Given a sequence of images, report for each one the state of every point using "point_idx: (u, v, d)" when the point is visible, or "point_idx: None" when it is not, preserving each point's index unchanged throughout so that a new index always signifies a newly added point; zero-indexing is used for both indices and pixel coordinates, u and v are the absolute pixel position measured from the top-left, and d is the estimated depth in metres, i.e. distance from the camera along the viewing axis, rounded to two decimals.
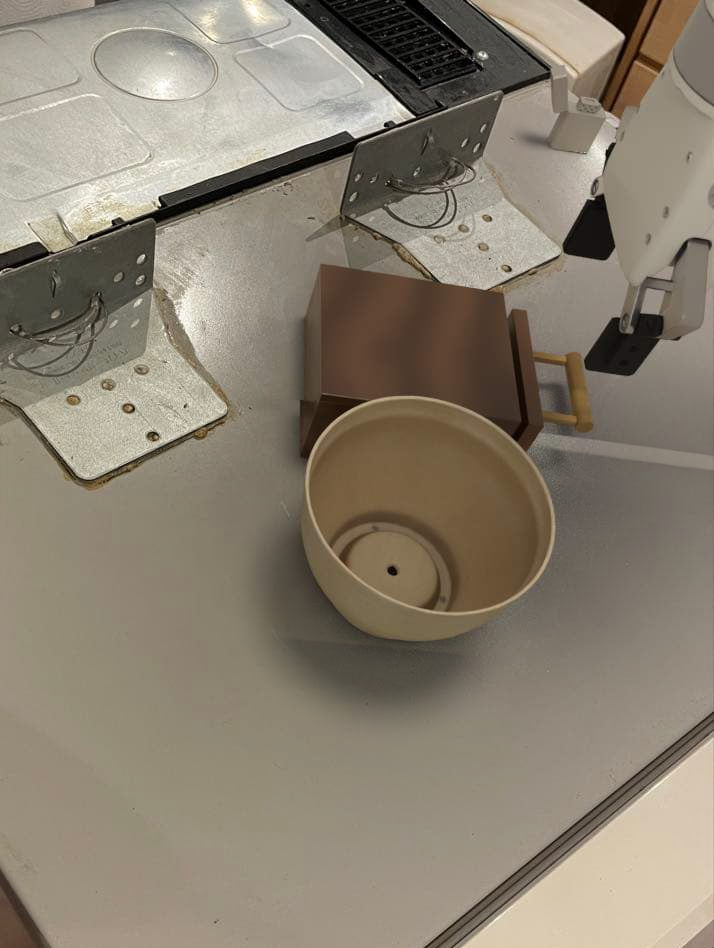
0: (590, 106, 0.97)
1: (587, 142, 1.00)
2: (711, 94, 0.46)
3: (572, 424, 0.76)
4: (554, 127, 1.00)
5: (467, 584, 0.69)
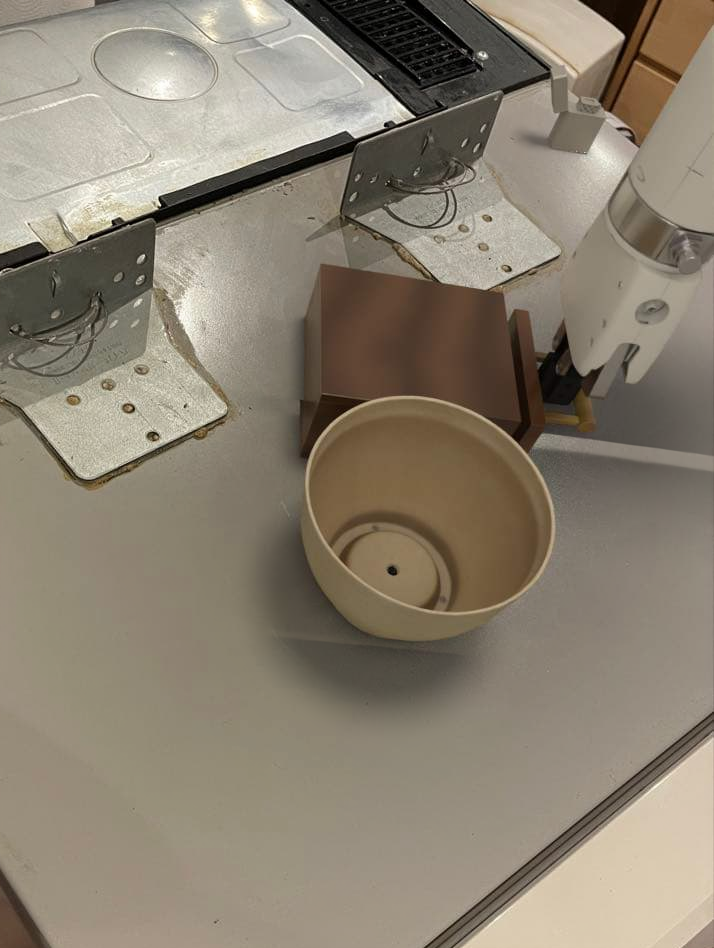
0: (590, 106, 0.97)
1: (587, 142, 1.00)
2: (635, 242, 0.61)
3: (574, 424, 0.76)
4: (554, 127, 1.00)
5: (467, 584, 0.69)
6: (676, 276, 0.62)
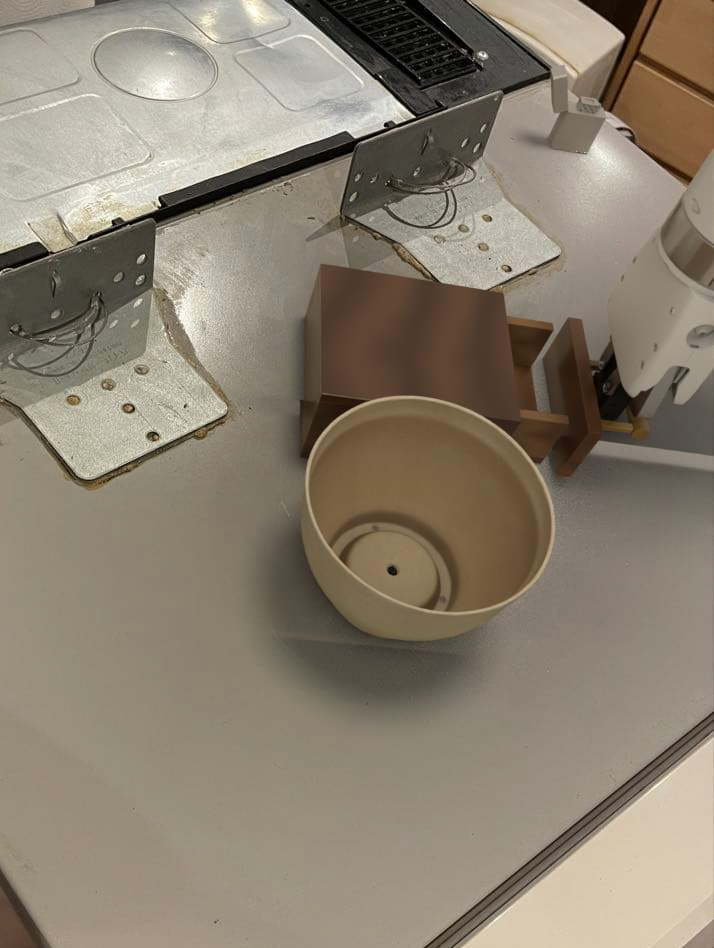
0: (590, 106, 0.97)
1: (587, 142, 1.00)
2: (687, 269, 0.63)
3: (628, 432, 0.76)
4: (554, 127, 1.00)
5: (467, 584, 0.69)
6: None
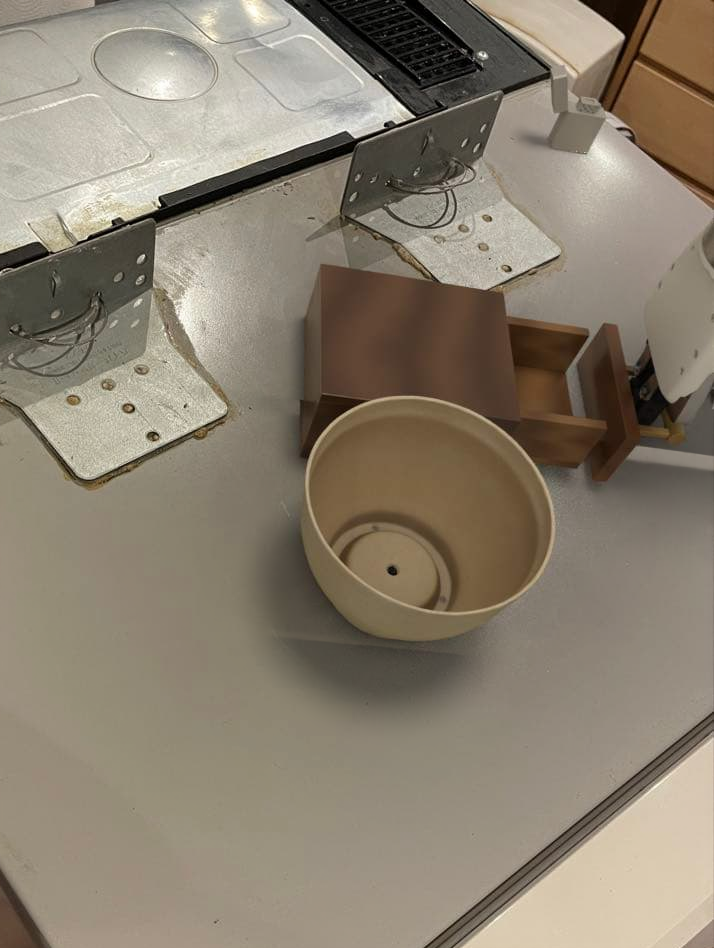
0: (590, 106, 0.97)
1: (587, 142, 1.00)
2: None
3: (664, 437, 0.77)
4: (554, 127, 1.00)
5: (467, 584, 0.69)
6: None
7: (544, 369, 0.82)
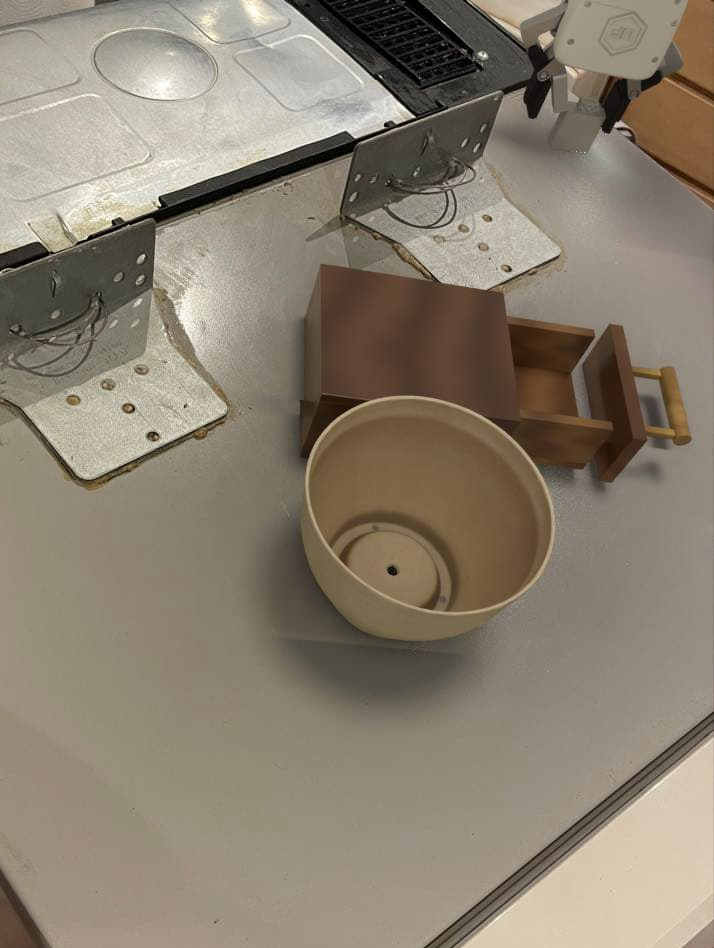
0: (590, 106, 0.97)
1: (587, 142, 1.00)
2: None
3: (670, 437, 0.77)
4: (554, 127, 1.00)
5: (467, 584, 0.69)
6: None
7: (550, 369, 0.82)
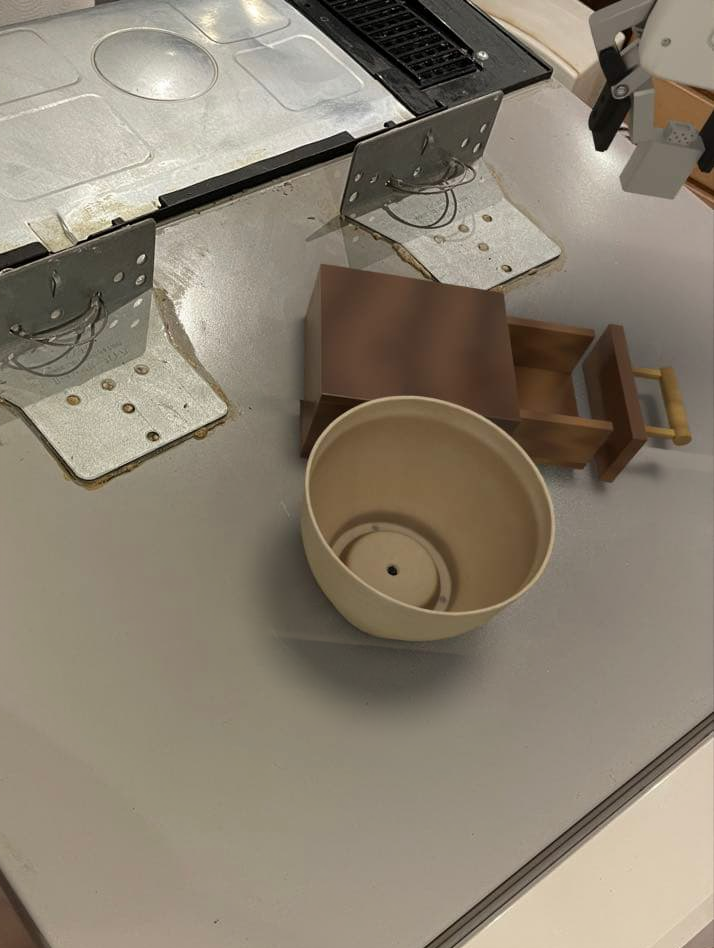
0: (684, 134, 0.68)
1: (675, 184, 0.71)
2: None
3: (670, 437, 0.77)
4: (629, 162, 0.71)
5: (467, 584, 0.69)
6: None
7: (550, 369, 0.82)
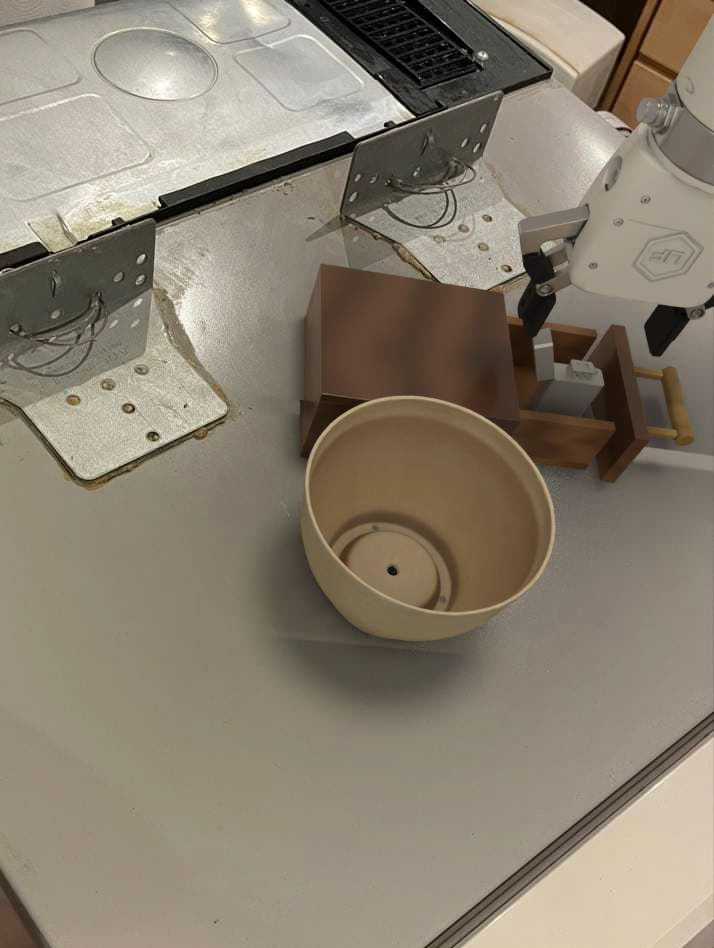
0: (583, 373, 0.75)
1: (579, 409, 0.78)
2: None
3: (672, 438, 0.77)
4: (538, 390, 0.78)
5: (467, 584, 0.69)
6: (645, 146, 0.58)
7: None
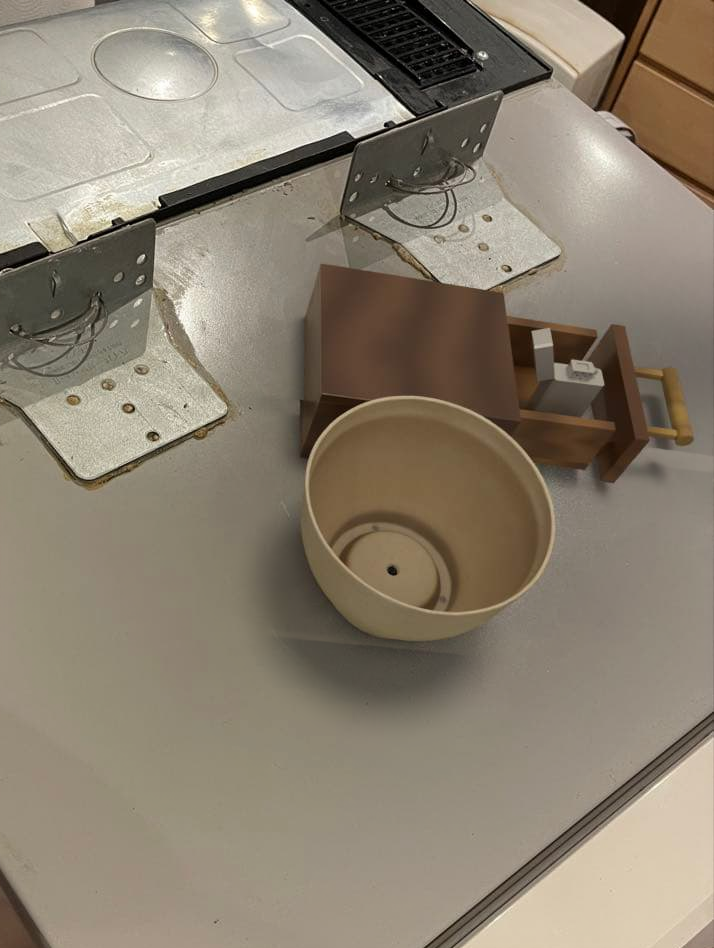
0: (583, 373, 0.75)
1: (579, 409, 0.78)
2: None
3: (672, 438, 0.77)
4: (538, 390, 0.78)
5: (467, 584, 0.69)
6: None
7: None
